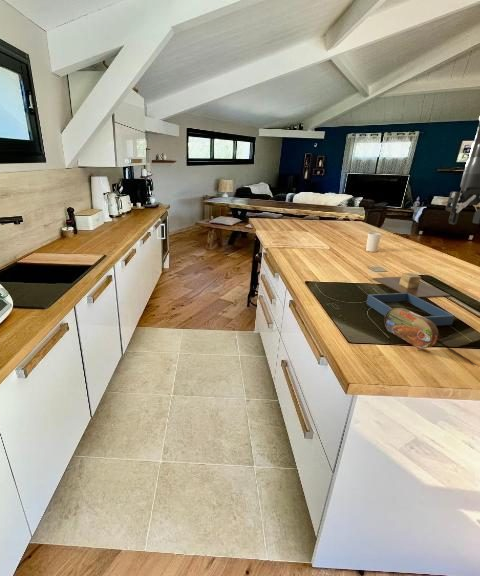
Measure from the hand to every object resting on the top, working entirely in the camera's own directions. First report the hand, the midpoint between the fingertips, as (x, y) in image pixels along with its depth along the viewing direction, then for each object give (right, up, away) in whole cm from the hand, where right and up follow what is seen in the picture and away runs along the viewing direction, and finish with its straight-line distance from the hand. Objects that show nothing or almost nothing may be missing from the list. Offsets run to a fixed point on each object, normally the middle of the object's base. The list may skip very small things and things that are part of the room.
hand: (464, 223), depth 105 cm
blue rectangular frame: (-21, -31, -1) cm, 37 cm away
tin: (-30, -37, -16) cm, 50 cm away
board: (-5, -22, +21) cm, 31 cm away
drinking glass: (-39, -12, +53) cm, 67 cm away
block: (-5, -21, +20) cm, 29 cm away
